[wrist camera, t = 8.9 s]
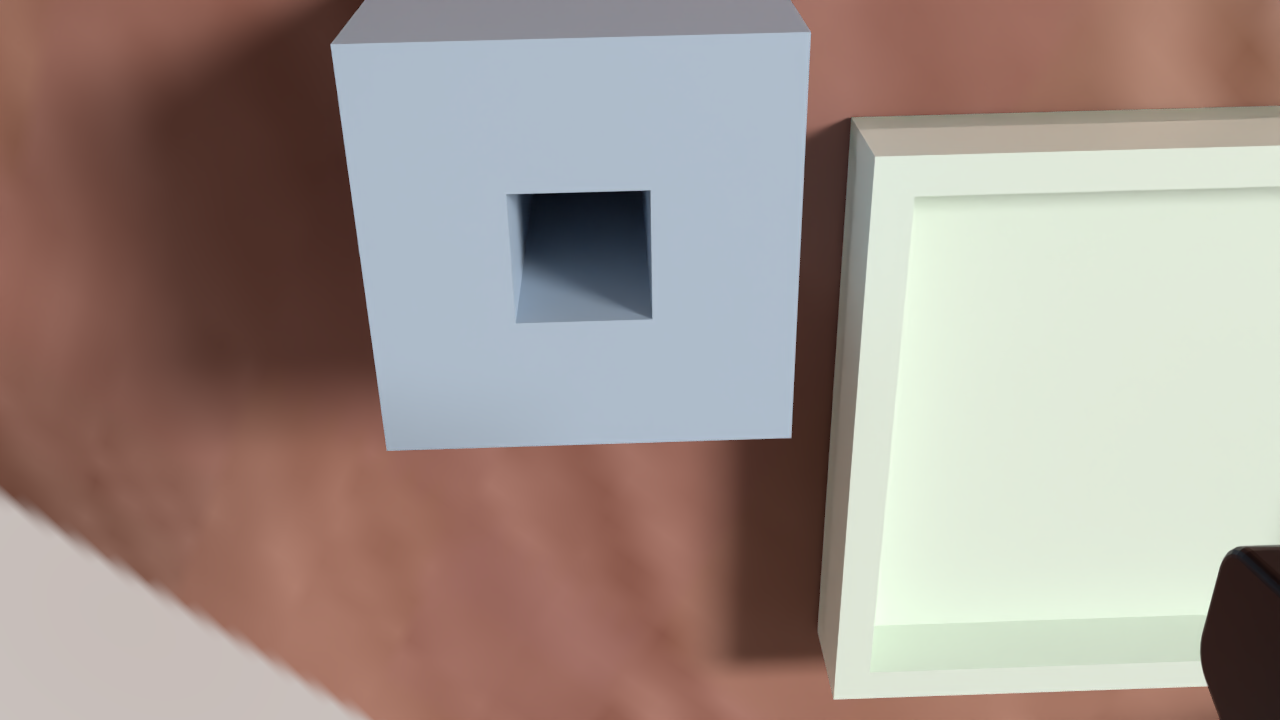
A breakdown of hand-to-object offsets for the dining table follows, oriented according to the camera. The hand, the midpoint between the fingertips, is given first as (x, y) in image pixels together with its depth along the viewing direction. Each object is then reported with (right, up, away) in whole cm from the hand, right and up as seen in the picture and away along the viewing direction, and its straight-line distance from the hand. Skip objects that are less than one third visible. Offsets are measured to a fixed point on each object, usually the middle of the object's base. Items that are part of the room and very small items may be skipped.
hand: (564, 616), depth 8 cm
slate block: (0, +5, +10) cm, 11 cm away
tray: (+9, +1, +13) cm, 15 cm away
